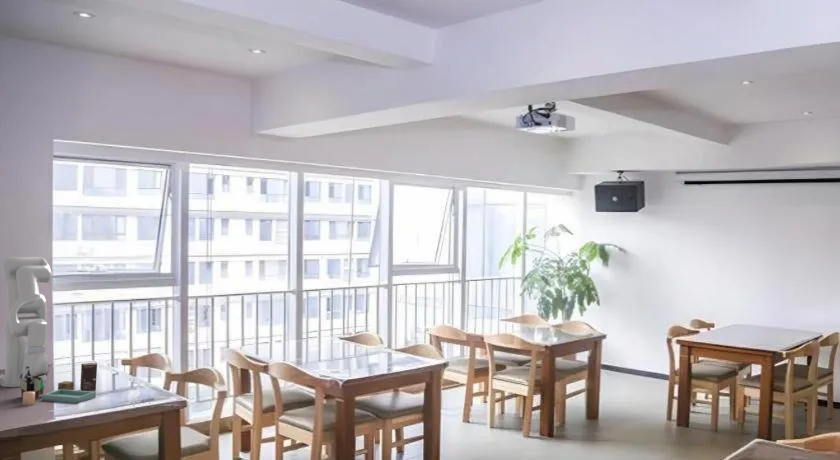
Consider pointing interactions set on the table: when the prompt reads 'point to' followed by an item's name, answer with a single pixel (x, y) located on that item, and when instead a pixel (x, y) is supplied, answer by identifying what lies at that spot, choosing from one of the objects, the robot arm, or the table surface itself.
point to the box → (88, 376)
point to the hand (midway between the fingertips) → (35, 390)
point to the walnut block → (66, 385)
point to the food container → (37, 385)
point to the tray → (68, 396)
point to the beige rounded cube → (28, 398)
